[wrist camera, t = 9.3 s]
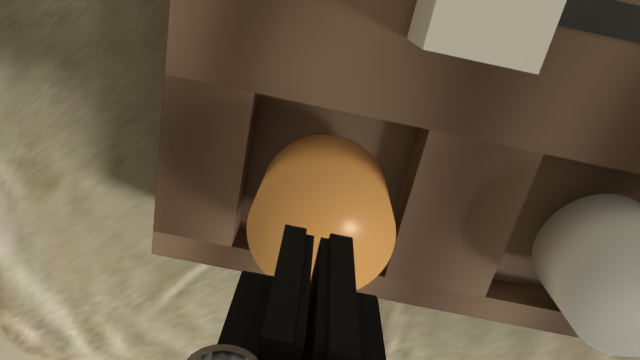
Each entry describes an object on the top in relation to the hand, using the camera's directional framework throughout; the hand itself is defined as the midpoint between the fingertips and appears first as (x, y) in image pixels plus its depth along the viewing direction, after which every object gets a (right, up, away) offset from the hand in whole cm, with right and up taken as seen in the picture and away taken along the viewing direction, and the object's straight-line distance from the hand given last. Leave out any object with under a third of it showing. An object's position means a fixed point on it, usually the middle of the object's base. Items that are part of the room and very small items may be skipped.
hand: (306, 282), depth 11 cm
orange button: (+1, +2, +5) cm, 5 cm away
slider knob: (+5, +8, +2) cm, 10 cm away
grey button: (+10, 0, +5) cm, 12 cm away
